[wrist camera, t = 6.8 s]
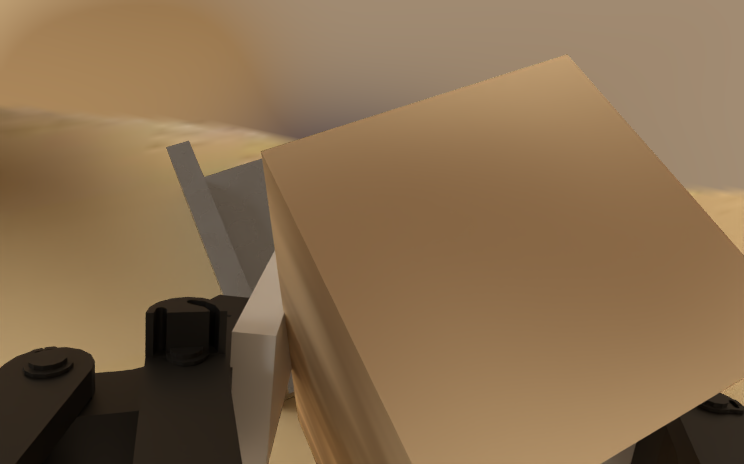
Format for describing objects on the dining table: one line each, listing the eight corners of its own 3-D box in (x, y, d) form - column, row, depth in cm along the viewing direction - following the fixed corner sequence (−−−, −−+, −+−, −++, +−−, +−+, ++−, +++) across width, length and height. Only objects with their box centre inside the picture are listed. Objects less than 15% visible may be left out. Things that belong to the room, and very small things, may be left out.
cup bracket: (183, 193, 38) (162, 136, 33) (454, 104, 44) (472, 45, 39) (266, 408, 32) (256, 380, 26) (572, 268, 38) (612, 224, 33)
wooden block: (298, 418, 19) (261, 151, 6) (408, 366, 21) (567, 54, 8) (351, 549, 17) (454, 552, 4) (469, 483, 19) (813, 335, 6)
